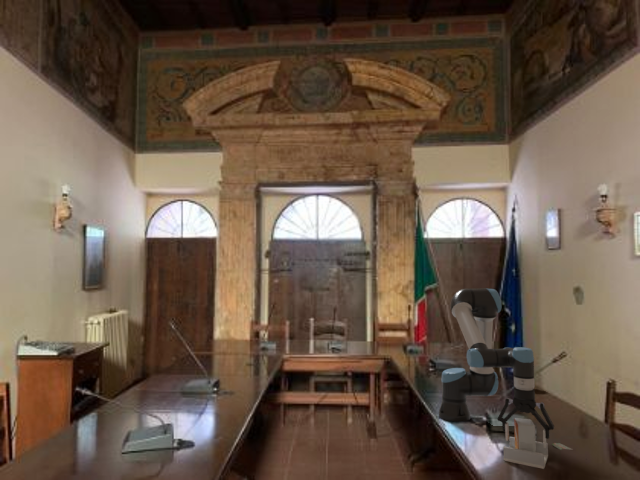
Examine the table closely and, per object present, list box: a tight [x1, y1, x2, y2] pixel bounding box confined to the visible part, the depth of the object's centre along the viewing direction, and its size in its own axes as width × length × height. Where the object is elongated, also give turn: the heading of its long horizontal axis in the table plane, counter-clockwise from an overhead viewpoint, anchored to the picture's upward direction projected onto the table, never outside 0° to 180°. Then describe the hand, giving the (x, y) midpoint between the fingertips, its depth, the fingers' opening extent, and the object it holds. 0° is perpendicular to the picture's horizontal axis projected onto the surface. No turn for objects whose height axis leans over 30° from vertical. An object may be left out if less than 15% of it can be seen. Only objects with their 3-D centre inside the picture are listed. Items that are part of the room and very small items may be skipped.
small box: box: [513, 417, 537, 452], centre depth 178 cm, size 8×6×13 cm
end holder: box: [502, 436, 549, 470], centre depth 178 cm, size 14×13×5 cm
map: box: [551, 442, 574, 451], centre depth 183 cm, size 5×20×1 cm, turn 23°
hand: (525, 443), depth 178 cm, fingers open, 13 cm apart
